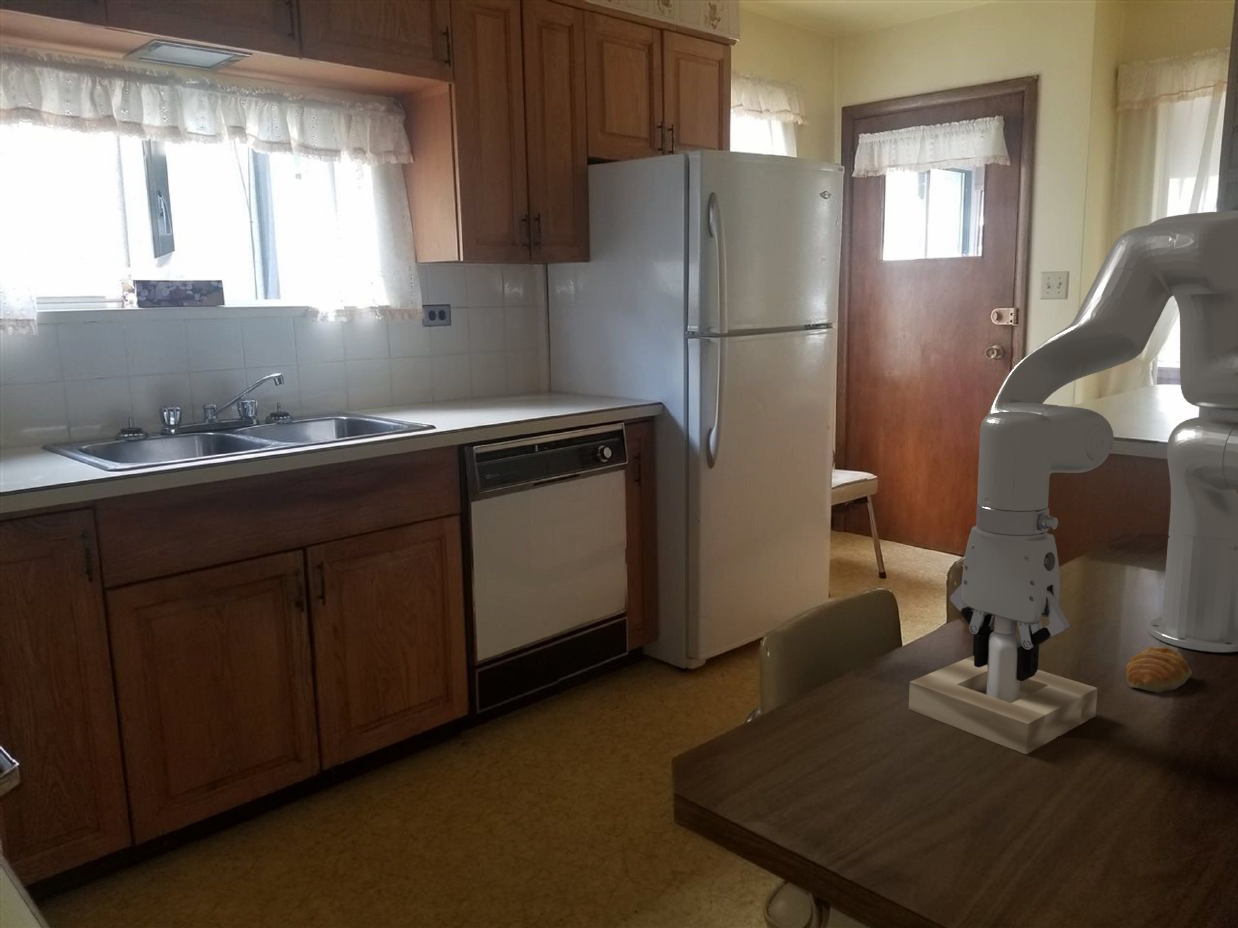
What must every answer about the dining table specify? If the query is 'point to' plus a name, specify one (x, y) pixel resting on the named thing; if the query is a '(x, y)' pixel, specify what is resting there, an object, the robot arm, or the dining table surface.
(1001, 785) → the dining table surface
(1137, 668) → the pastry
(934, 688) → the rectangular frame
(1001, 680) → the eye dropper bottle
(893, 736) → the dining table surface
